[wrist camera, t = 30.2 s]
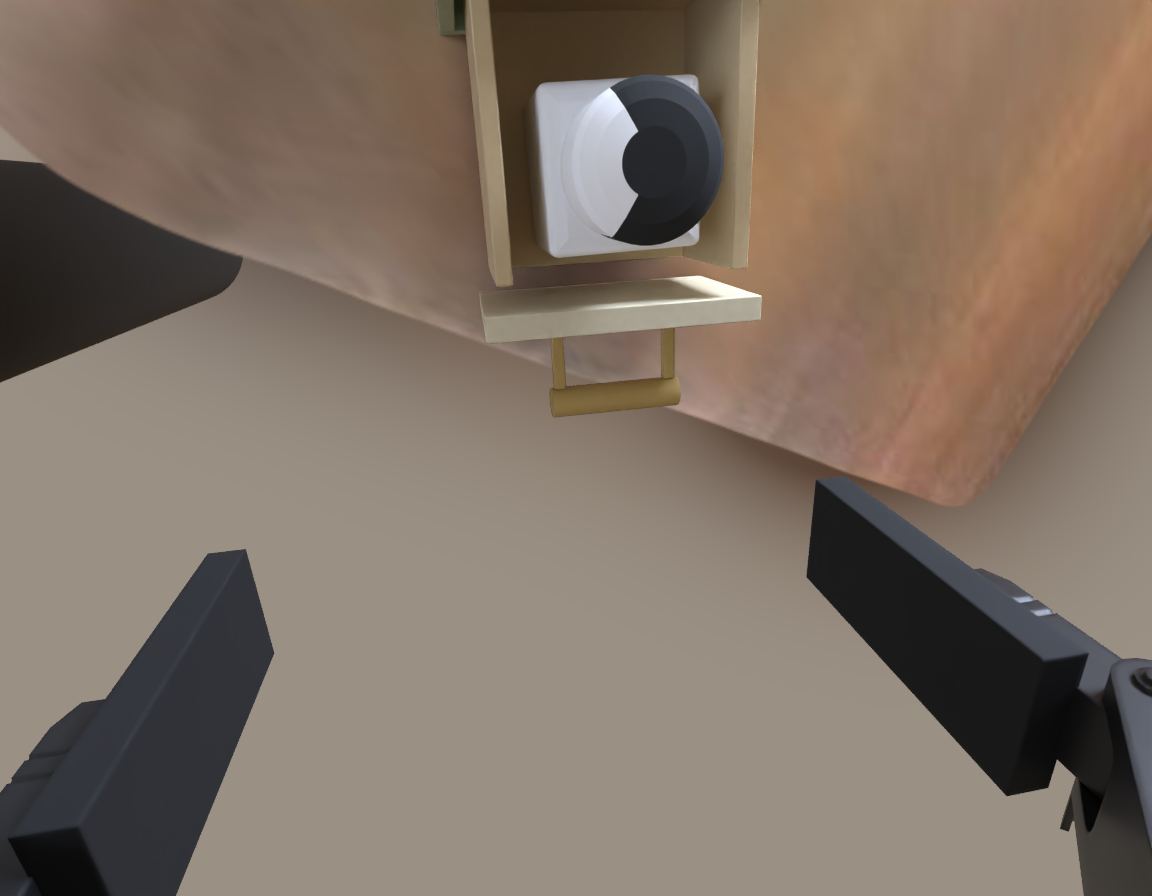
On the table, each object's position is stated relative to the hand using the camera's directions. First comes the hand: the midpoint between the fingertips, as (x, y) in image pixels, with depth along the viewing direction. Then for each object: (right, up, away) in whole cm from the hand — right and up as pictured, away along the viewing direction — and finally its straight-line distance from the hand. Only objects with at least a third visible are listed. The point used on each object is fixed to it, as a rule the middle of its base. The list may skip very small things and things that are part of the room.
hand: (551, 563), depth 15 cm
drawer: (+1, +16, +22) cm, 27 cm away
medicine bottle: (+2, +18, +20) cm, 27 cm away
